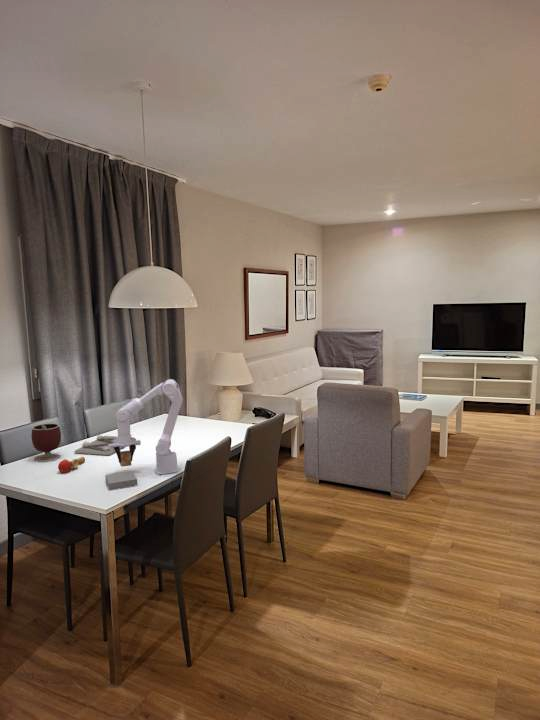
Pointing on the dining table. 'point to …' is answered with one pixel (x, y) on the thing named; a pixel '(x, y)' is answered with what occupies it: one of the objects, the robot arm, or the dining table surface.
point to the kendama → (69, 464)
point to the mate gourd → (46, 441)
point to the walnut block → (125, 458)
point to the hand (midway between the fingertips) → (125, 461)
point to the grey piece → (99, 446)
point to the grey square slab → (121, 480)
